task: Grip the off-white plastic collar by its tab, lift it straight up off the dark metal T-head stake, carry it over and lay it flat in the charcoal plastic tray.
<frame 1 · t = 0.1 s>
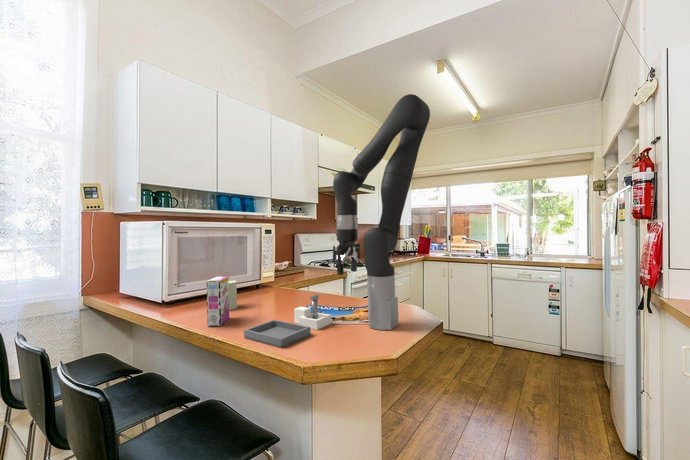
hand: (347, 272, 113), 17 cm above the countertop, tool pointing down, fingers open, 8 cm apart
stake: (315, 324, 110), on the countertop
can: (226, 308, 138), on the countertop
candy bar box: (219, 322, 117), on the countertop
collar: (315, 324, 110), on the countertop
tray: (277, 336, 99), on the countertop
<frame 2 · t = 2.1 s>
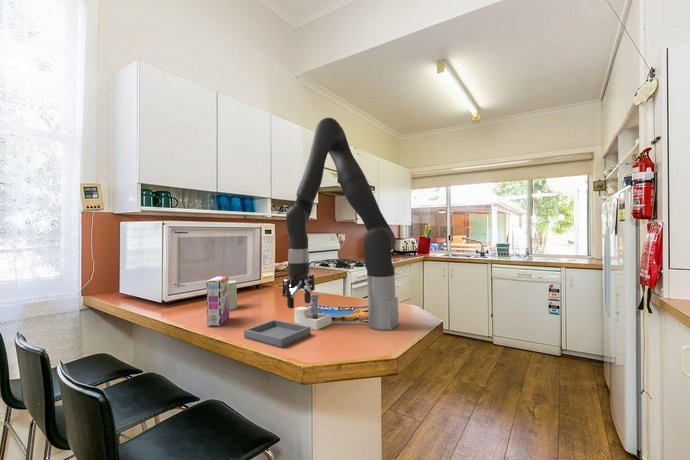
hand: (299, 305, 114), 6 cm above the countertop, tool pointing down, fingers open, 8 cm apart
nothing on the countertop moved.
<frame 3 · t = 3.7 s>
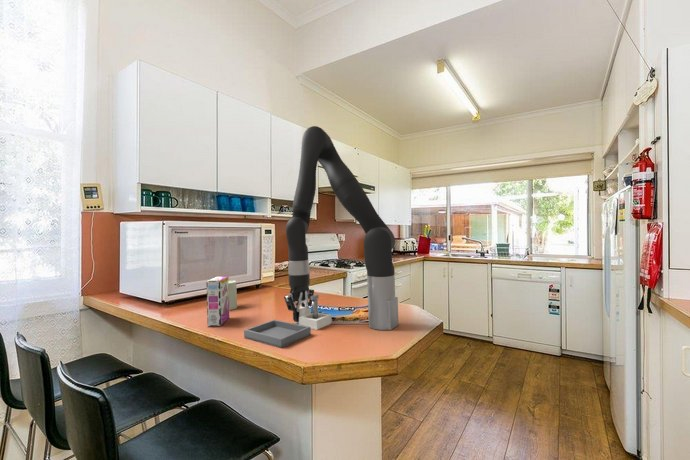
hand: (300, 319, 114), 1 cm above the countertop, tool pointing down, fingers closed on collar, 3 cm apart
collar: (315, 324, 110), on the countertop, touching gripper
everything else where it was.
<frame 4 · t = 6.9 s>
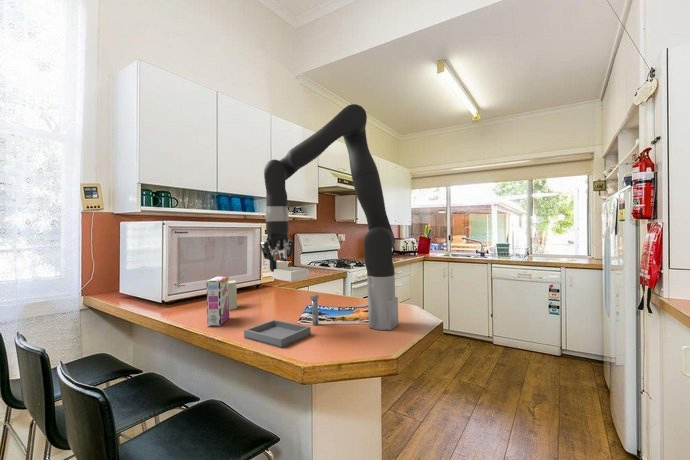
hand: (278, 270, 107), 20 cm above the countertop, tool pointing down, fingers closed on collar, 3 cm apart
collar: (291, 278, 103), point 18 cm above the countertop, touching gripper
everything else where it was.
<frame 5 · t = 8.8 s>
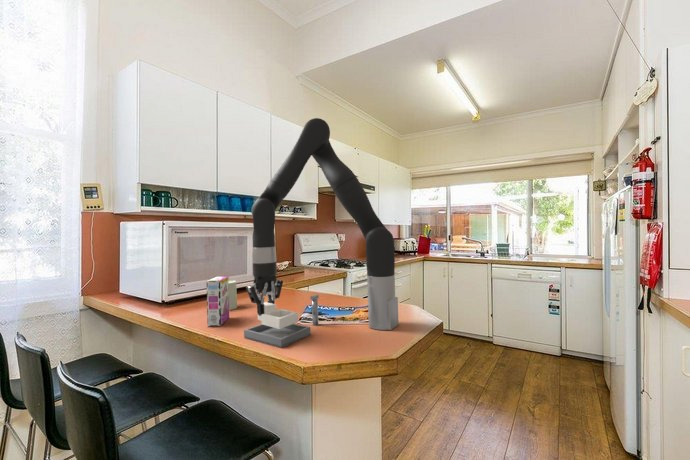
hand: (266, 313, 102), 7 cm above the countertop, tool pointing down, fingers closed on collar, 3 cm apart
collar: (279, 323, 98), point 4 cm above the countertop, touching gripper
everything else where it was.
when the fingers open (3 cm above the countertop, at t = 10.2 s): collar stays where it is, resting on tray.
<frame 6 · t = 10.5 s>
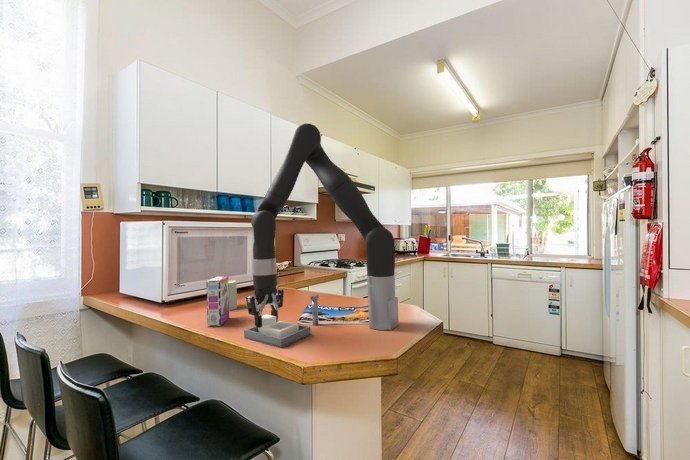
hand: (266, 324, 102), 3 cm above the countertop, tool pointing down, fingers open, 6 cm apart
collar: (280, 335, 98), point 1 cm above the countertop, touching tray
everything else where it was.
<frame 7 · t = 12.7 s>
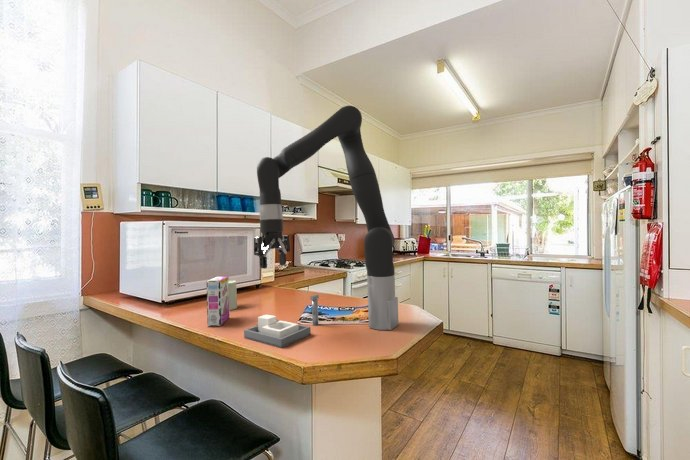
hand: (273, 266, 106), 21 cm above the countertop, tool pointing down, fingers open, 8 cm apart
nothing on the countertop moved.
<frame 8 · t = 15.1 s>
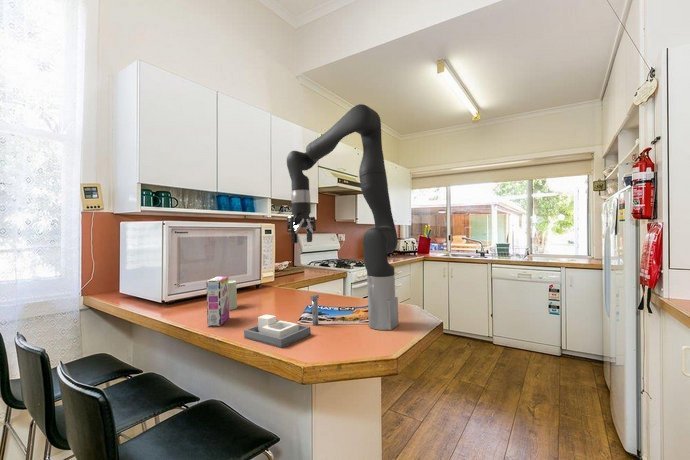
hand: (302, 242, 126), 28 cm above the countertop, tool pointing down, fingers open, 8 cm apart
nothing on the countertop moved.
at the end: collar 0.9 cm from the target spot on the tray, point 0.6 cm above the tray's base; collar tilted 0°; the gripper is holding nothing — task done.
